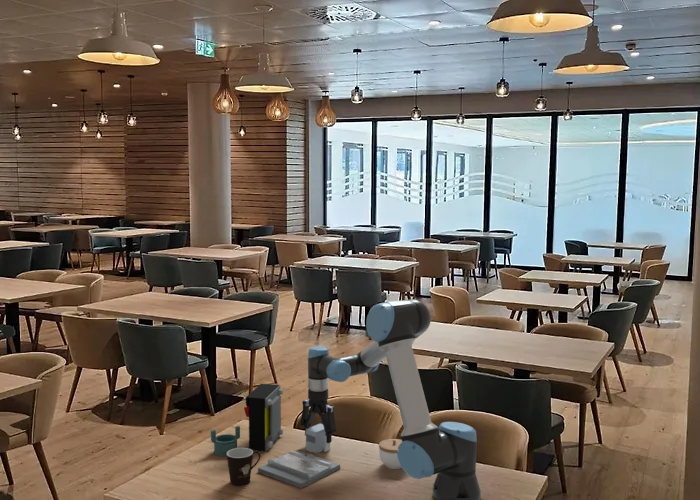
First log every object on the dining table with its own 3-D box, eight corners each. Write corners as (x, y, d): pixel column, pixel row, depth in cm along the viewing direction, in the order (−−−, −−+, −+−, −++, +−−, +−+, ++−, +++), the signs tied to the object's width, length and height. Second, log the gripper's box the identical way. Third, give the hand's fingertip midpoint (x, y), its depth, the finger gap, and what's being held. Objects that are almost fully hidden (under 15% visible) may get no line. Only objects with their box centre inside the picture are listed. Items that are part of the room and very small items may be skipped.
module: (330, 447, 260) (330, 426, 260) (315, 453, 254) (315, 432, 253) (320, 443, 263) (320, 423, 263) (305, 450, 257) (305, 429, 256)
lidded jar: (388, 457, 251) (389, 432, 250) (414, 464, 245) (415, 438, 244) (372, 467, 242) (373, 441, 241) (399, 474, 236) (399, 447, 235)
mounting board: (340, 468, 241) (340, 464, 240) (301, 488, 225) (301, 483, 225) (297, 454, 253) (297, 450, 253) (258, 472, 237) (258, 467, 237)
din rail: (331, 467, 237) (331, 463, 237) (308, 479, 228) (308, 474, 228) (290, 454, 249) (290, 449, 249) (267, 464, 240) (267, 459, 240)
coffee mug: (228, 488, 224) (227, 459, 223) (225, 478, 232) (225, 449, 231) (264, 484, 227) (263, 455, 226) (260, 474, 236) (260, 445, 235)
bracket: (209, 454, 253) (208, 430, 252) (223, 445, 261) (223, 422, 260) (230, 458, 249) (229, 434, 248) (243, 449, 258) (243, 426, 257)
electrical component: (270, 451, 255) (270, 398, 253) (244, 449, 257) (243, 397, 255) (284, 434, 272) (284, 385, 270) (259, 432, 274) (259, 383, 272)
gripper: (346, 391, 253) (346, 451, 255) (304, 380, 266) (304, 438, 268) (333, 396, 247) (333, 458, 249) (290, 385, 260) (290, 443, 262)
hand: (318, 447), depth 259 cm, fingers open, 8 cm apart
